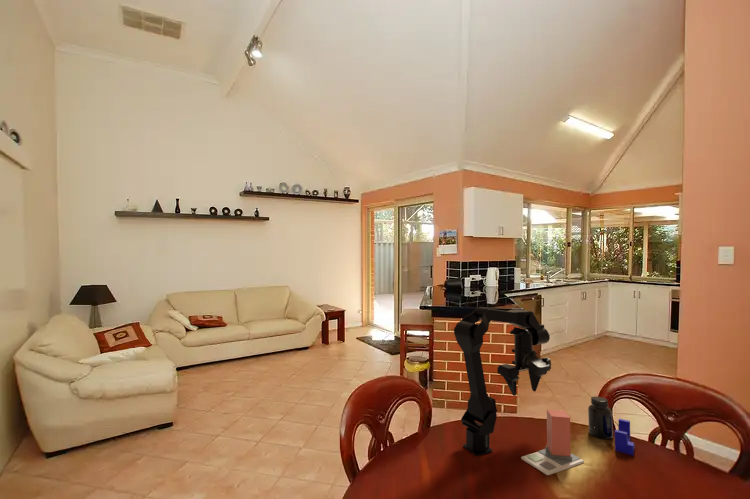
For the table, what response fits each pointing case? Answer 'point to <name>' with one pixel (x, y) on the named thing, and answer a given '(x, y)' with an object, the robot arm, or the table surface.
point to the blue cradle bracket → (624, 438)
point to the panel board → (550, 462)
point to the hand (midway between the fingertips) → (524, 393)
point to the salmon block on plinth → (558, 435)
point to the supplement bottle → (600, 418)
